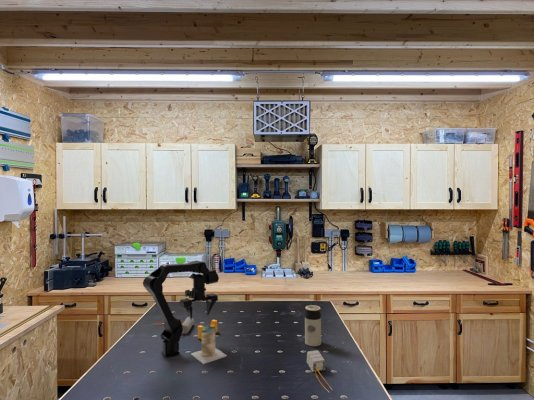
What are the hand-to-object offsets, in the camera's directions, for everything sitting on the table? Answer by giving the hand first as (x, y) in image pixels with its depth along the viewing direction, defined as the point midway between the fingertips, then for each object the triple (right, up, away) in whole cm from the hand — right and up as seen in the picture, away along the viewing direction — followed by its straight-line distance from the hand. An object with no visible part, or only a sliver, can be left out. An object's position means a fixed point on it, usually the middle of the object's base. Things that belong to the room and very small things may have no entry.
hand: (199, 317), depth 173 cm
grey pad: (+7, -13, -14) cm, 20 cm away
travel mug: (+57, -13, -1) cm, 58 cm away
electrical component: (+56, -13, -33) cm, 67 cm away
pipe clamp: (+3, -13, +10) cm, 17 cm away
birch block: (+7, -13, -14) cm, 20 cm away
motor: (-20, -14, +18) cm, 30 cm away
